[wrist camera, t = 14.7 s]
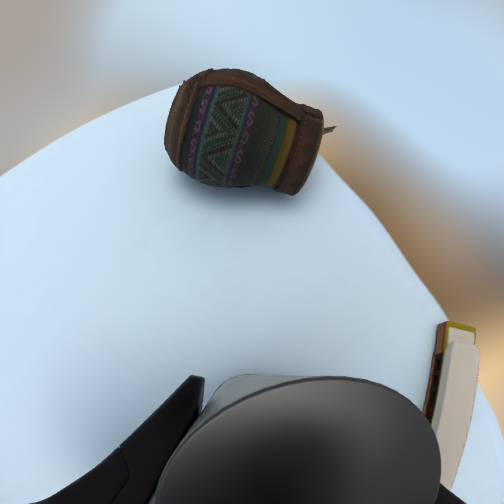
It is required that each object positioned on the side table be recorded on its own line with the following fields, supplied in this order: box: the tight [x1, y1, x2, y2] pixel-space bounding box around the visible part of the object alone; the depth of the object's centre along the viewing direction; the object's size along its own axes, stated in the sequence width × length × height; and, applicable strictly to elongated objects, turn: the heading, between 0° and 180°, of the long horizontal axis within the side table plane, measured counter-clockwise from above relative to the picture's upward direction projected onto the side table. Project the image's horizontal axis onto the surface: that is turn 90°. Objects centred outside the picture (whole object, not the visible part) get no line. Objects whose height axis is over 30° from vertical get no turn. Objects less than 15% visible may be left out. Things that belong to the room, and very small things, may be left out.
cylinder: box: [155, 374, 441, 504], centre depth 8 cm, size 4×4×12 cm
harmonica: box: [423, 321, 480, 491], centre depth 12 cm, size 15×3×2 cm, turn 164°
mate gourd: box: [164, 68, 336, 196], centre depth 16 cm, size 7×8×10 cm
